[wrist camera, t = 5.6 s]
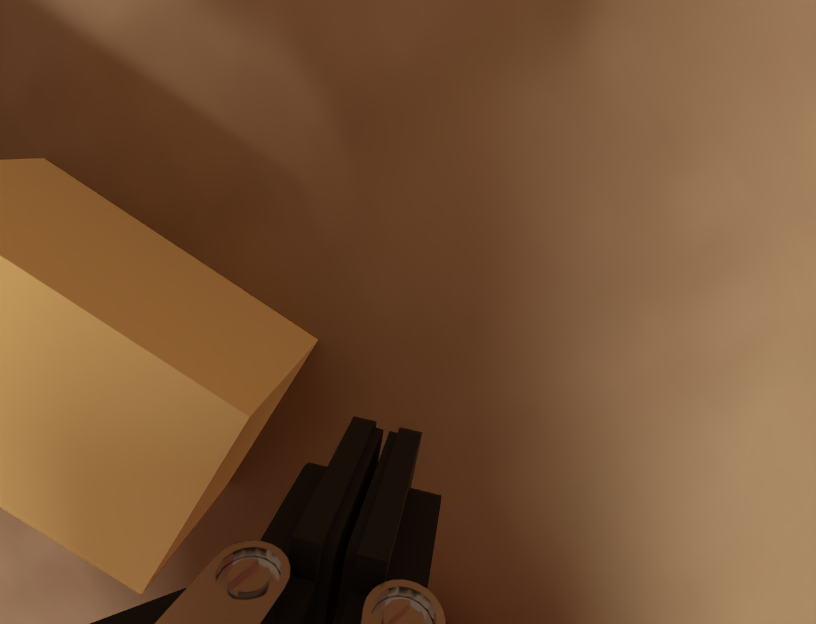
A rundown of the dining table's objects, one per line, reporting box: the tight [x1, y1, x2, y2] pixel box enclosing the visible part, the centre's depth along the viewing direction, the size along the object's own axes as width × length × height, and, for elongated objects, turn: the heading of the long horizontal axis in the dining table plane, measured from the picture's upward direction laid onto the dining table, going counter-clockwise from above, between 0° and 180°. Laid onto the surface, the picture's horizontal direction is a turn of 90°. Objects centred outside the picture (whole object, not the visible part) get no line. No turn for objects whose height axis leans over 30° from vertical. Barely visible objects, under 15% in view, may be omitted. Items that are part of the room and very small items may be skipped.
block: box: [0, 158, 318, 595], centre depth 15 cm, size 10×7×5 cm
